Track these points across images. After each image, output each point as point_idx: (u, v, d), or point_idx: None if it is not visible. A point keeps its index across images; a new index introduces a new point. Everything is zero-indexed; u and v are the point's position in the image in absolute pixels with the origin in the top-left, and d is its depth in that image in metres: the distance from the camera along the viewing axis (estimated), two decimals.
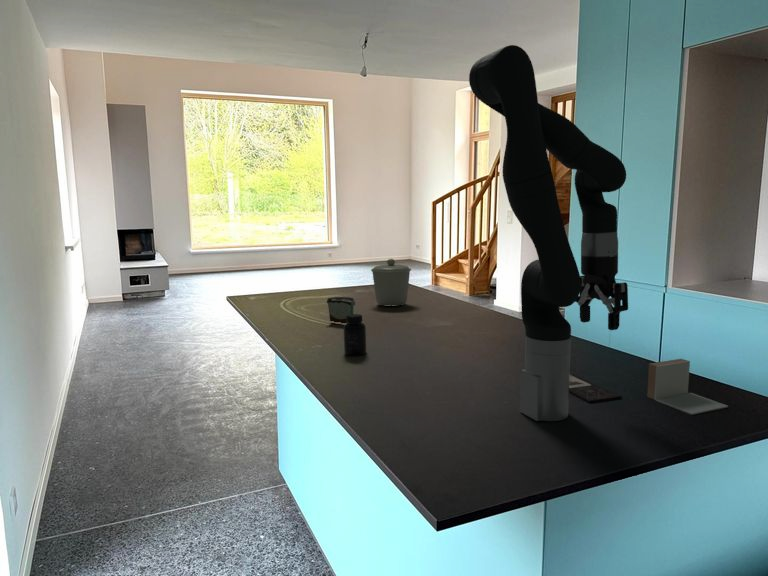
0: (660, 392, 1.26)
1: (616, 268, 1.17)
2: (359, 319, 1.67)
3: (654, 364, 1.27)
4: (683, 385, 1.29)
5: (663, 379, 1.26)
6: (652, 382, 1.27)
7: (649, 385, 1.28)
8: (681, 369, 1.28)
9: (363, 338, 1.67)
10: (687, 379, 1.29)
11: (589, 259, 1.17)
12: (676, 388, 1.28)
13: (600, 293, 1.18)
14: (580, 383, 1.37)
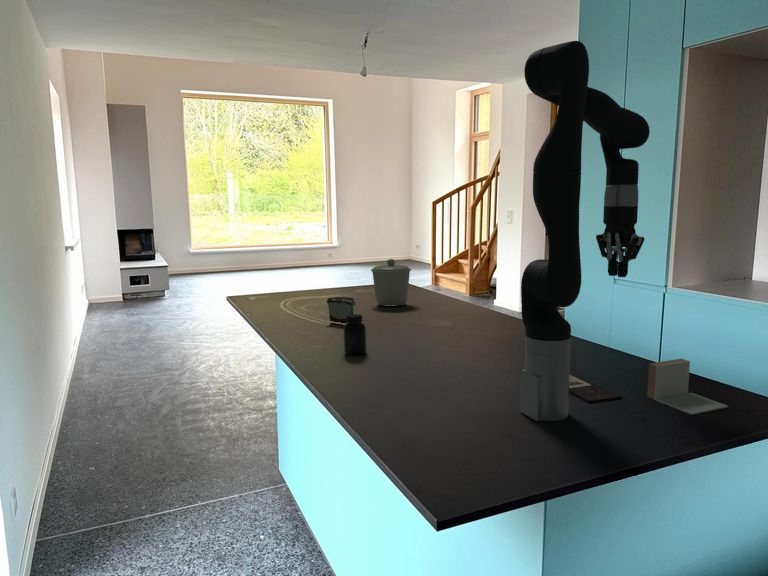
0: (660, 392, 1.26)
1: (636, 218, 1.30)
2: (359, 319, 1.67)
3: (654, 364, 1.27)
4: (683, 385, 1.29)
5: (663, 379, 1.26)
6: (652, 382, 1.27)
7: (649, 385, 1.28)
8: (681, 369, 1.28)
9: (363, 338, 1.67)
10: (687, 379, 1.29)
11: (612, 209, 1.30)
12: (676, 388, 1.28)
13: (618, 241, 1.31)
14: (581, 383, 1.37)
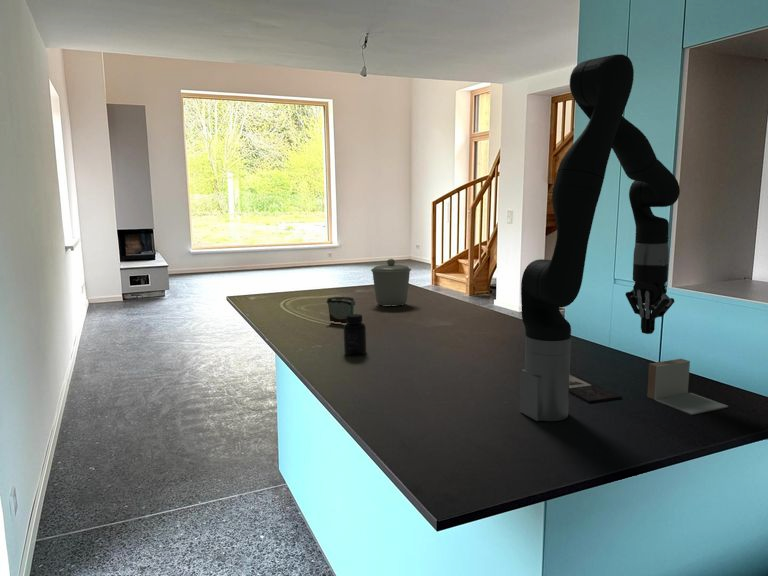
0: (660, 392, 1.26)
1: (666, 276, 1.29)
2: (359, 319, 1.67)
3: (654, 364, 1.27)
4: (683, 385, 1.29)
5: (663, 379, 1.26)
6: (652, 382, 1.27)
7: (649, 385, 1.28)
8: (681, 369, 1.28)
9: (363, 338, 1.67)
10: (687, 379, 1.29)
11: (642, 267, 1.29)
12: (676, 388, 1.28)
13: (647, 299, 1.30)
14: (581, 383, 1.37)
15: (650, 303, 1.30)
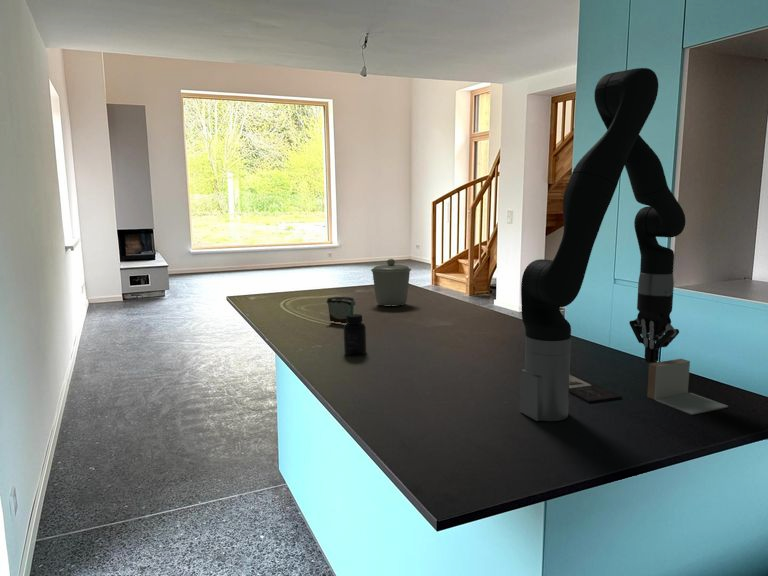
0: (660, 392, 1.26)
1: (671, 307, 1.28)
2: (359, 319, 1.67)
3: (654, 364, 1.27)
4: (683, 385, 1.29)
5: (663, 379, 1.26)
6: (652, 382, 1.27)
7: (649, 385, 1.28)
8: (681, 369, 1.28)
9: (363, 338, 1.67)
10: (687, 379, 1.29)
11: (647, 297, 1.28)
12: (676, 388, 1.28)
13: (652, 329, 1.30)
14: (581, 383, 1.37)
15: (654, 333, 1.30)
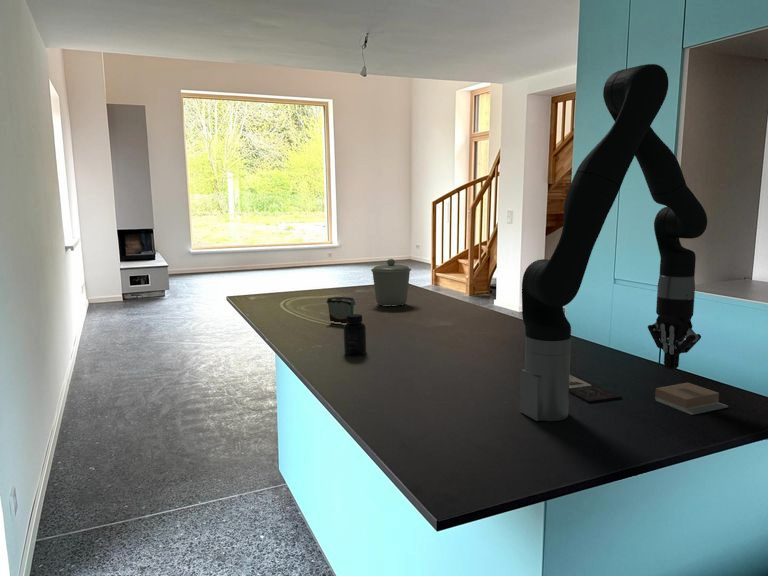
0: None
1: (692, 311, 1.23)
2: (359, 319, 1.67)
3: (687, 403, 1.19)
4: None
5: None
6: (669, 398, 1.23)
7: (666, 394, 1.23)
8: None
9: (363, 338, 1.67)
10: None
11: (667, 301, 1.23)
12: None
13: (672, 334, 1.25)
14: (581, 383, 1.37)
15: (675, 338, 1.24)
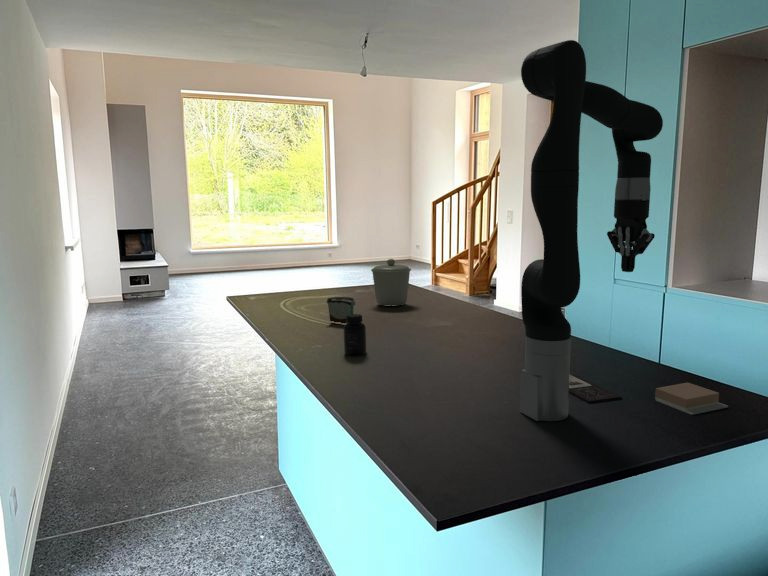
0: None
1: (647, 212, 1.27)
2: (359, 319, 1.67)
3: (687, 403, 1.19)
4: None
5: None
6: (669, 398, 1.23)
7: (666, 394, 1.23)
8: None
9: (363, 338, 1.67)
10: None
11: (623, 202, 1.27)
12: None
13: (628, 235, 1.28)
14: (581, 383, 1.37)
15: (630, 239, 1.28)
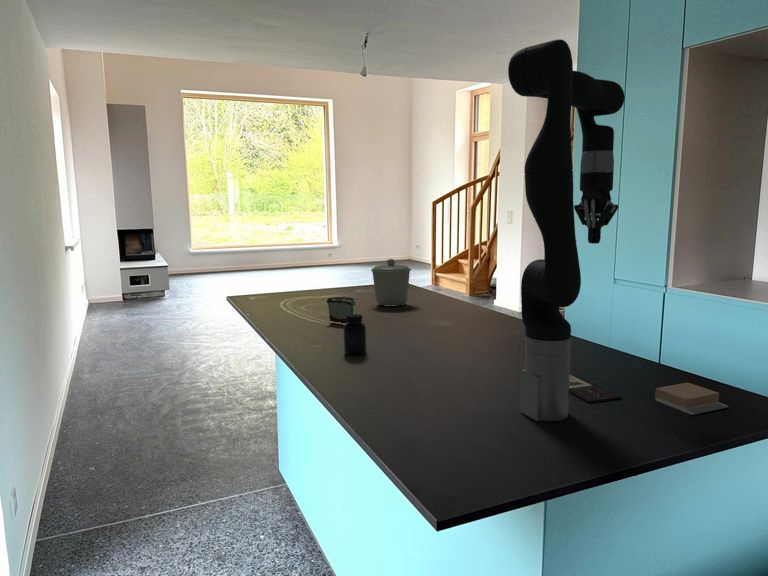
0: None
1: (611, 184, 1.31)
2: (359, 319, 1.67)
3: (687, 403, 1.19)
4: None
5: None
6: (669, 398, 1.23)
7: (666, 394, 1.23)
8: None
9: (363, 338, 1.67)
10: None
11: (587, 175, 1.31)
12: None
13: (593, 207, 1.32)
14: (581, 383, 1.36)
15: (596, 211, 1.32)
